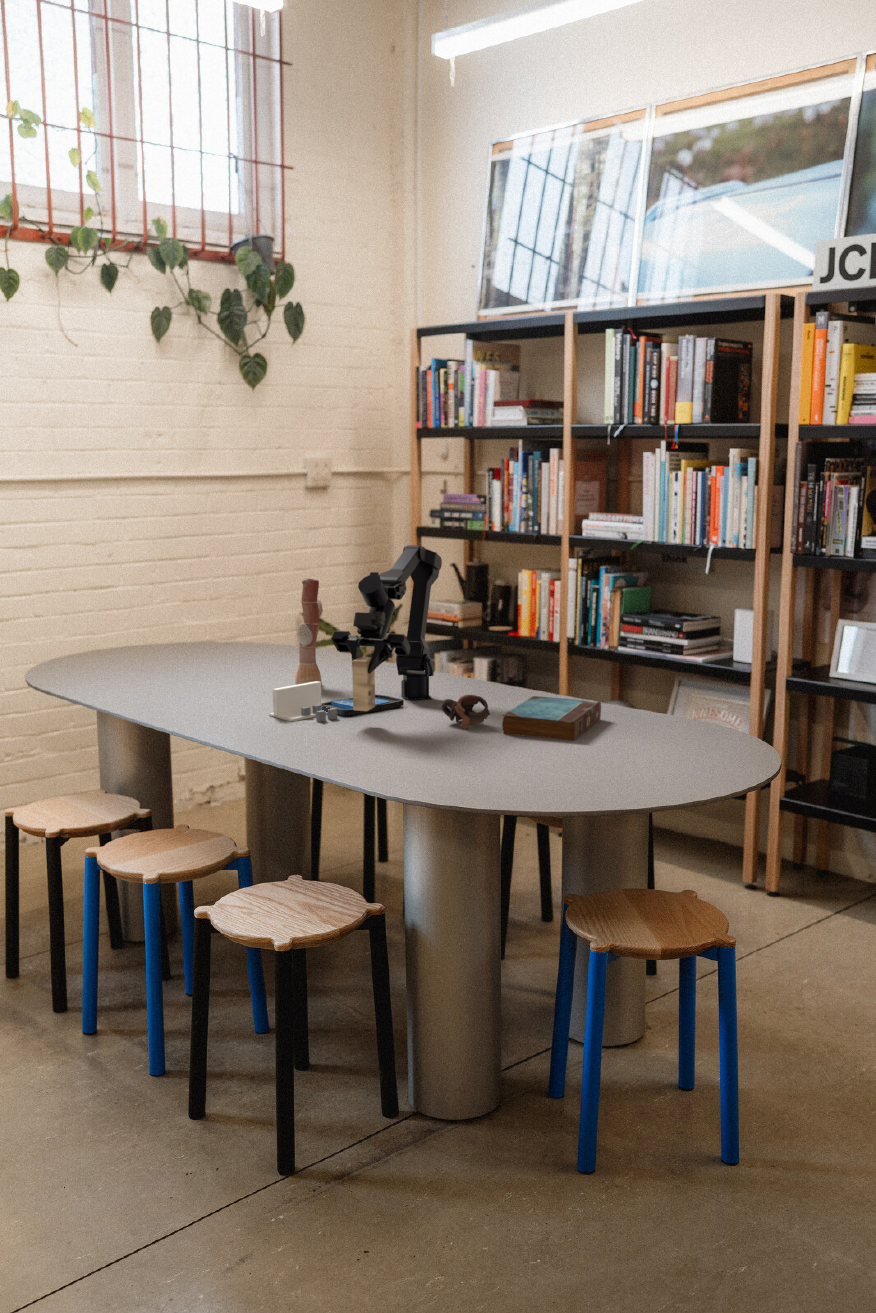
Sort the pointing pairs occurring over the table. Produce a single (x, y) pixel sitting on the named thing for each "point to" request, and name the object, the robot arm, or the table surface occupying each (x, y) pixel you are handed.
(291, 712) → the cream board with pegs
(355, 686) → the wooden building block
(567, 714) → the book
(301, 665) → the reddish-brown tall column
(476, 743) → the table surface
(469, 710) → the brown looped piece
